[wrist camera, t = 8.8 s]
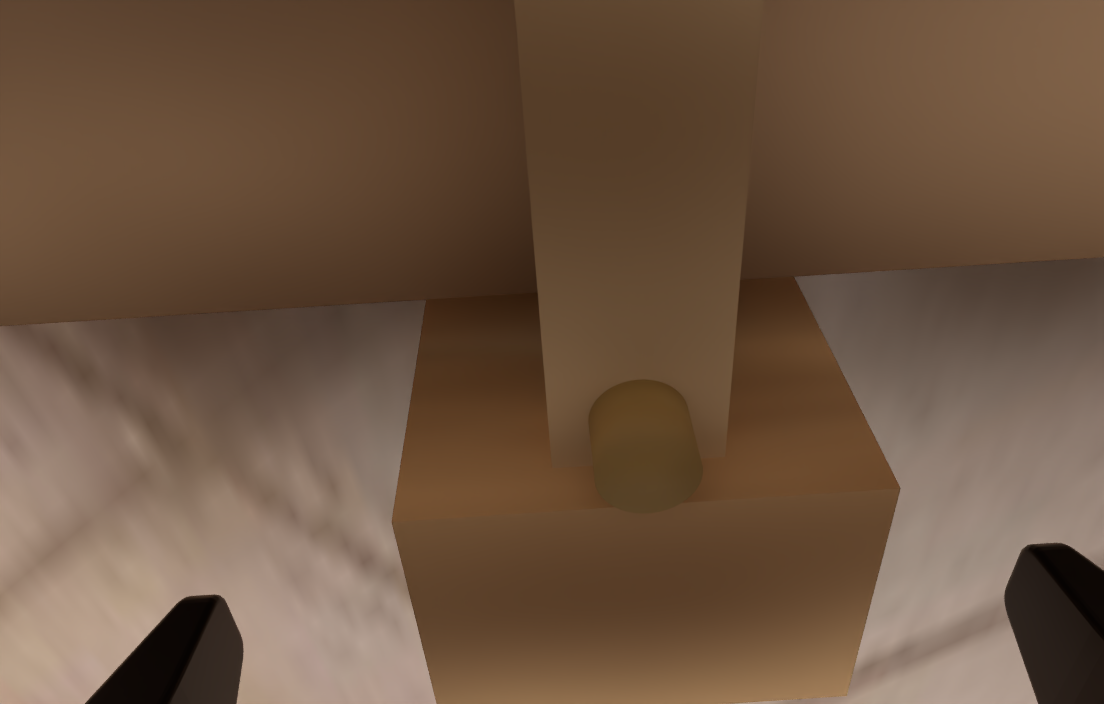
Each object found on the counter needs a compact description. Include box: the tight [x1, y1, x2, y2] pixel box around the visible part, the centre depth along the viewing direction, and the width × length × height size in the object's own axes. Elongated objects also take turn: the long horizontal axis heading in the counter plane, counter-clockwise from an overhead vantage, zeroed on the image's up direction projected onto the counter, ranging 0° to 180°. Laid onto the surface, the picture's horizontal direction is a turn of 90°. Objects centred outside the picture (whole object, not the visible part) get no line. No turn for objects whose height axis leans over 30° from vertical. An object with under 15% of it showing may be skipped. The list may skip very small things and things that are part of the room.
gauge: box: [392, 0, 900, 704], centre depth 9 cm, size 11×5×5 cm, turn 3°
